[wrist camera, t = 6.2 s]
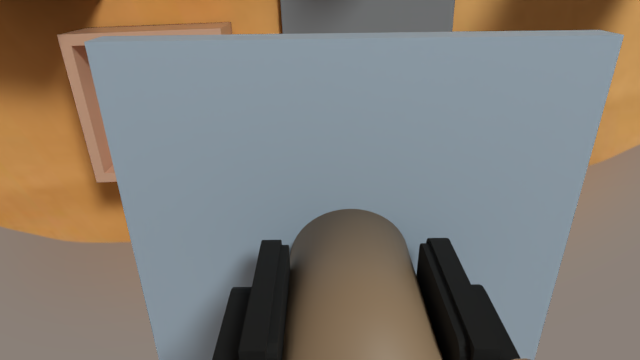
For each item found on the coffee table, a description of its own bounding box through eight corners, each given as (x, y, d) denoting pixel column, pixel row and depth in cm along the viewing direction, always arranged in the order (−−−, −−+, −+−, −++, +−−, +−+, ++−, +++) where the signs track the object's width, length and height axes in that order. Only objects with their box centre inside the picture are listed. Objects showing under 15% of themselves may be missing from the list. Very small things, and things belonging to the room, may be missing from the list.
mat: (453, -16, 35) (456, -16, 35) (439, 147, 41) (441, 149, 41) (280, -10, 35) (279, -9, 35) (290, 154, 41) (290, 156, 40)
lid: (600, 29, 11) (942, 105, 5) (511, 380, 17) (624, 620, 11) (102, 36, 12) (-160, 118, 5) (178, 383, 17) (96, 625, 11)
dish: (230, 21, 36) (220, 28, 31) (245, 154, 41) (238, 176, 36) (88, 27, 36) (56, 34, 31) (119, 159, 41) (96, 182, 36)
